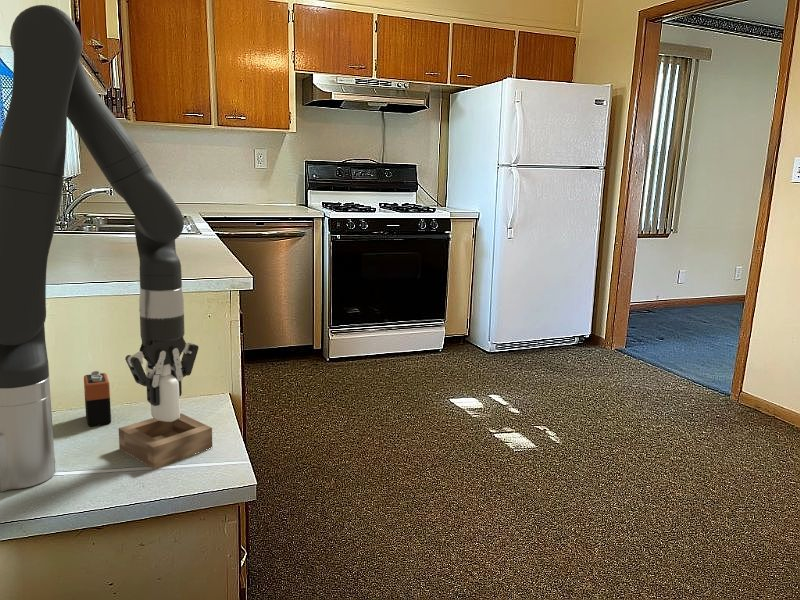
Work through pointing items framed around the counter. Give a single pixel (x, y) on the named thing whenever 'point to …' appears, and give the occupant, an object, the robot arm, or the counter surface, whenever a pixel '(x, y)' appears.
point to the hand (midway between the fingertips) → (165, 401)
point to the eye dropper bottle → (167, 397)
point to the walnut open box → (164, 440)
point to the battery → (97, 399)
